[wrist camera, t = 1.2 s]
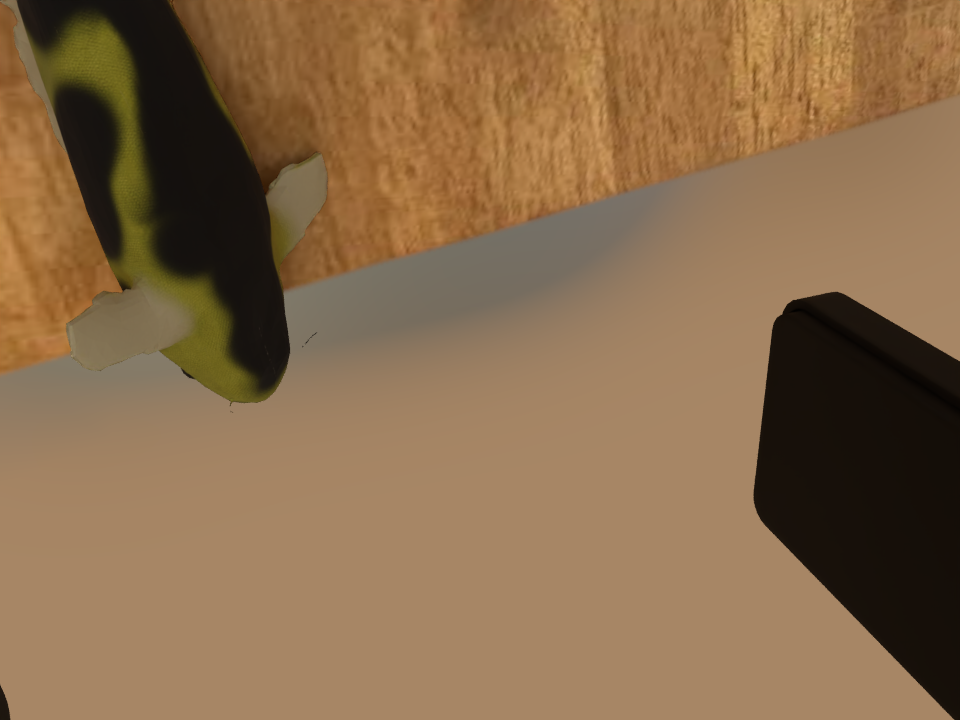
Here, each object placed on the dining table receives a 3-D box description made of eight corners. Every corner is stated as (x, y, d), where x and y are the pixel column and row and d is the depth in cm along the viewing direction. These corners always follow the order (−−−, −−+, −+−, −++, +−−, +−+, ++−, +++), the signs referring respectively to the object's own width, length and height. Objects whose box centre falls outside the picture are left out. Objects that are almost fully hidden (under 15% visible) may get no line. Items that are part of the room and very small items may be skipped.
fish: (471, 323, 31) (262, 302, 36) (212, -654, 18) (-54, -474, 24) (269, 549, 24) (42, 482, 29) (-401, -830, 11) (-597, -513, 16)
